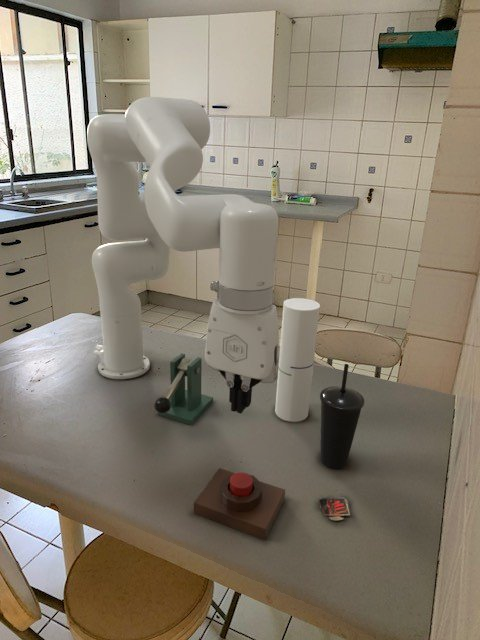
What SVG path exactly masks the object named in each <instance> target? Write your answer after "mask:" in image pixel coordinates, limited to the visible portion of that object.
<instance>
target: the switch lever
mask: <svg viewBox="0 0 480 640" xmlns="http://www.w3.org/2000/svg"><path fill="white" fill-rule="evenodd" d="M192 361H194V359H190V358H186V357H185V358H183V359H182V361H181V362H180V364H179V366H178V367H177V368H178V371H179V373H178V375H177V376H176V378H175V380H174V381H173V383H172V384H171V383H170V386H169V388H168V389H167V390H166V393H165V394H164V396H161V397H158V398H157V399H156V400H155V402H154V405H153V407H154V410H155V412H157V414H158V413H161V414H164V413H167V412H168V411H169V410H170V408H171V402H170V400H171V398H172V396H173V395H174V393H175V391H176V390H177V388H178V386H179V385H180V383H181V381H182V380H183V378H184V376H185V378H187V365H189V364H190V363H191V362H192Z"/></svg>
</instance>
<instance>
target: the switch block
mask: <svg viewBox="0 0 480 640" xmlns="http://www.w3.org/2000/svg"><path fill="white" fill-rule="evenodd" d="M235 473H236V472H233V471H230V470H227V469H224V468H221V467H219V468H218V469H217V470H216V472H215V473H214V474H213V476H212V477H211V479H210V480H209V481H208V483H207V484H206V486H205V487H204V488H203V489H202V491H201V492H200V494H198V497H197V498H196V499H195V500H194V502H193V514H194V515H198V516H200V517H203V518H206V519H208V520H211V521H213V522H216V523H219V524H221V525H224V526H226V527H228V528H232V529H234V530H237V531H240V532H242V533H245V534H247V535H250V536H253V537H256V538H259V539H261V540H262V541H266V540H267V537H268V535H269V533H270V530H271V529H272V527H273V525H274V523H275V520H276V519H277V516H278V514H279V512H280V510H281V508H282V506H283V504H284V502H285V499H286V498H285V497H286V489H285V488H282V487H279V486H275V485H272V484H269V483H266V482H263V481H260V480H259V479H258V478H257V477H256V476H255V475H252V474H249V475H250V476H251V477H252V479H253V488H252V492H251V494H249V495H248V496H244V497H238V496H235V495H233V494H232V493H231V491H230V478H231V476H232V475H234V474H235Z"/></svg>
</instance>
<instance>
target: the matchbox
mask: <svg viewBox="0 0 480 640" xmlns="http://www.w3.org/2000/svg"><path fill="white" fill-rule="evenodd" d="M318 504H319V508H320V510H321V512H322V513H323V515H324V516H328V518H329V519H330V520H331V521H334V522H337V521H343V520H344V519H345V518H344V516H351V515H350V509H349V501H348V499H347V498H346V497H324V498H320V499H318ZM342 516H343V517H342Z"/></svg>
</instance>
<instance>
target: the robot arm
mask: <svg viewBox="0 0 480 640" xmlns="http://www.w3.org/2000/svg"><path fill="white" fill-rule="evenodd" d="M210 136H211V122H210V118H209V115H208V113H207V111H206V110H205V108H204V107H203V106H202V105H201V104H200V103H199V102H197V101H195V100H192V99H186V98H172V97H161V96H144V97H140V98H138V99H136V100H134V101H133V102H132V103H130V104H129V106H128V108H126V111H125V113H104V114H100V115H96V116H94V117H93V118H91V120H90V121H89V123H88V125H87V130H86V138H87V139H86V142H87V148H88V151H89V154H90V158H91V160H92V164H93V165H94V169H95V173H96V196H97V198H96V199H97V224H98V229H99V232H100V234H101V235H102V236H103V237H104V238H105V239H108V240H111V241H120V242H111V243H106V244H103V245H100V246H98V247H96V249H95V250H94V251H93V252H92V255H91V267H92V271H93V275H94V280H95V283H96V288H97V294H98V302H99V315H100V326H101V327H100V328H101V338H102V344H101V345H100V344H96V345H95V346H94V350H93V351H92V355H93V356H94V357H98V358H100V362H99V363H98V365H97V369H98V374H100V375H101V376H103V377H104V378H106V379H107V378H108V379H111V380H129V379H135V378H137V377H141V376H142V375H144V374H146V373H147V372H148V371H149V369H151V368H150V367H151V362H150V359H149V358H148V357H147V356H145V355H144V344H143V343H144V341H143V340H144V339H143V319H142V304H141V303H142V302H141V299H140V297H139V295H138V294H137V292H135V291H134V290H133V289H132V288H131V287H130V285H131V284H136V283H141V282H142V283H143V282H148V281H154V280H155V281H156V280H160V279H162V278H163V277H164V276H166V274H167V272H168V270H169V264H170V251H171V250H174V251H177V252H184V253H185V252H196V251H202V250H203V251H204V250H205V251H206V250H212V249H219V257H218V258H219V259H218V261H219V262H218V280H217V281H213V280H212V281H211V282H210V286H209V287H210V290H211V291H212V292H213V291H214V292H215V293H216V299H215V300H213V301H212V303H211V307H210V311H209V315H208V320H207V321H208V322H207V328H206V335H205V346H204V360H205V363H206V365H207V366H208V367H209V368H210V369H212V370H214V371H216V372H219V373H220V374H221V376H222V377H223V379H224V380H225V382H226V386H227V387H228V388H229V397H228V398H229V399H228V401H229V403H230V411H231V412H234V413H235V412H237V414H240V415H241V414H242V413H243V412H244V411H245V410H246V408H249V407H250V405H251V403H252V396H253V395H252V393H253V387H255V386H257V385H258V384H259V383H262V384H274V383H275V381H276V380H278V372H277V368H276V367H277V365H278V364H279V355H280V327H279V317H278V311H277V306H276V305H275V304H273V299H274V298H273V297H274V284H275V283H274V282H275V269H276V255H277V244H278V243H277V242H278V229H279V215H278V213H277V210H276V209H275V208H274V207H273V206H272V205H268V204H265V203H260V202H259V203H258V202H254V201H252V200H251V199H249V198H248V197H247V196H244V195H242V194H235V193H229V194H228V193H226V194H225V193H224V194H198V195H197V194H194V195H193V194H191V195H179V194H177V192H176V191H178V190H180V189H181V188H184V186H187V185H188V184H190V183H191V182H192V181H193V180H194V179H195V178H196V177H197V176H198V175H199V173H200V171H201V169H202V167H203V162H204V154H203V151H202V150H203V149H204V148H205V147H206V146H207V144H208V142H209V139H210ZM133 163H146V164H147V165H148V167H149V169H148V172H147V174H146V176H145V181H144V186H143V194H140V193H139V192H140V191H139V190H140V189H139V188H140V177H139V173H138V170H137V168H136V167H135V165H134V164H133ZM140 239H145V240H140ZM125 240H126V241H125ZM127 240H132V241H127ZM133 240H135V241H133Z"/></svg>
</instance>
